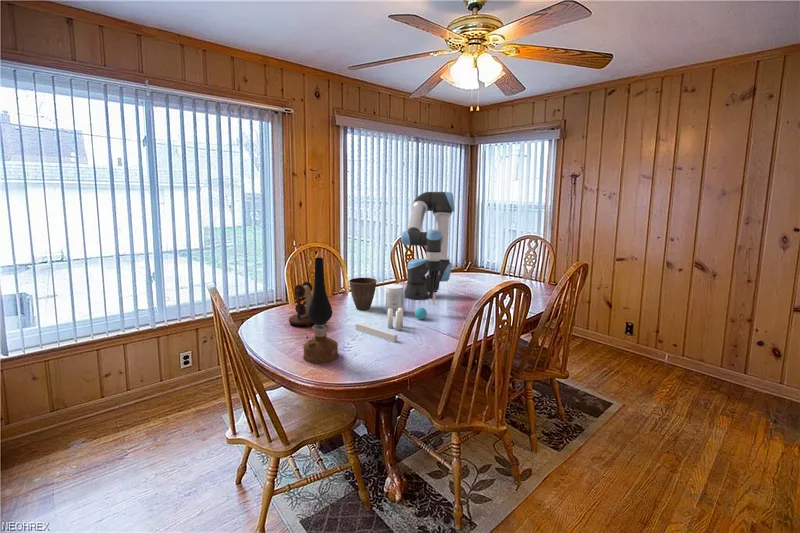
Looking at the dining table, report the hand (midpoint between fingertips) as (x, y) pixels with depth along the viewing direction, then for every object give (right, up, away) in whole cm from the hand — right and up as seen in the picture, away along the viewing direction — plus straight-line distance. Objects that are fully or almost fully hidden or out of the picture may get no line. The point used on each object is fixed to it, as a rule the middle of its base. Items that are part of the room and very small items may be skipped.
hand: (432, 304), depth 219 cm
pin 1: (-22, -9, -19) cm, 30 cm away
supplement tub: (-20, -5, +5) cm, 21 cm away
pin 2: (-18, -10, -22) cm, 30 cm away
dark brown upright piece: (-64, -8, -14) cm, 66 cm away
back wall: (-28, -11, -30) cm, 43 cm away
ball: (-6, -4, -6) cm, 10 cm away
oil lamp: (-48, -16, -55) cm, 74 cm away
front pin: (-17, -9, -18) cm, 26 cm away
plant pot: (-37, -4, +12) cm, 39 cm away
